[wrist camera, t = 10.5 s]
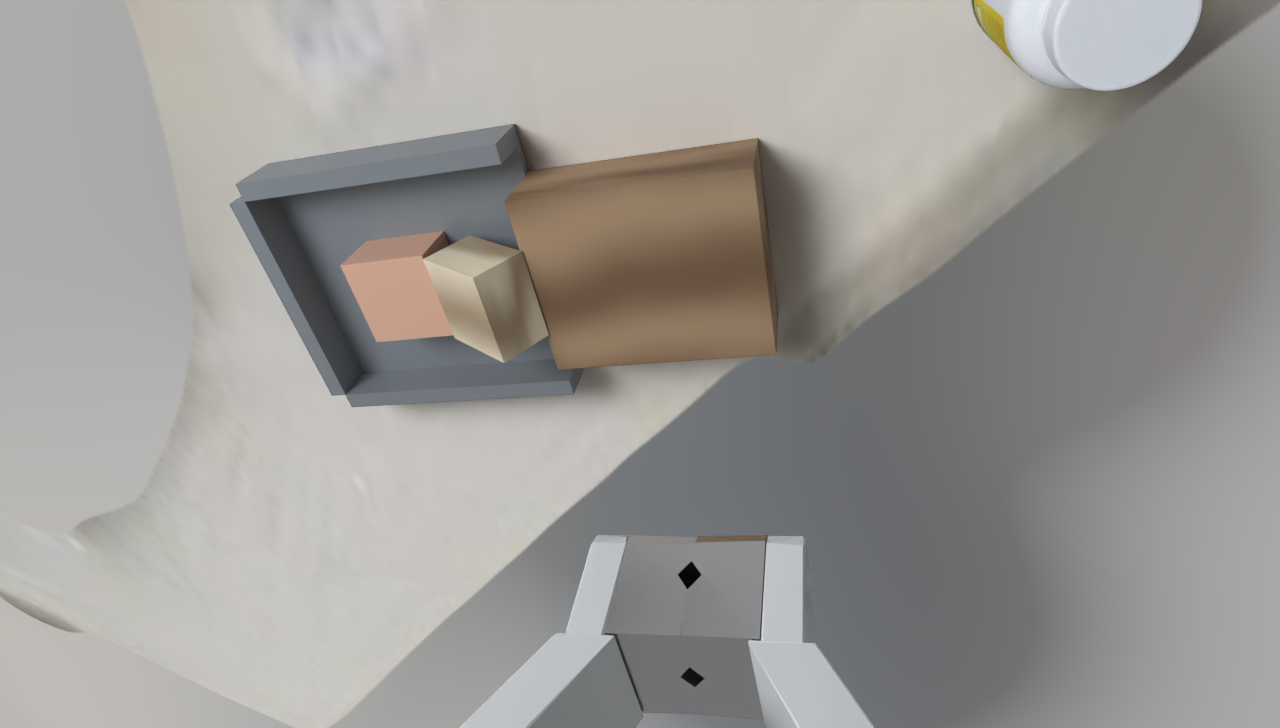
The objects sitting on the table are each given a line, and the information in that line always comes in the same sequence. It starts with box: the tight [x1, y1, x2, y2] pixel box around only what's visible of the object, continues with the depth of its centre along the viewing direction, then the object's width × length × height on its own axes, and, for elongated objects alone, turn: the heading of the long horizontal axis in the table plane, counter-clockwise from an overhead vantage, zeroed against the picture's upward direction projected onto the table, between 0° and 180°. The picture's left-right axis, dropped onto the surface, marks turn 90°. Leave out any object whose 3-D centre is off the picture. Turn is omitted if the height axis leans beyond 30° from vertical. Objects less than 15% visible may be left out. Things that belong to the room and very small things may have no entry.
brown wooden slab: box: [504, 138, 778, 370], centre depth 39 cm, size 10×12×4 cm
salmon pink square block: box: [340, 231, 453, 342], centre depth 42 cm, size 5×5×3 cm
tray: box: [230, 124, 584, 407], centre depth 43 cm, size 15×16×3 cm
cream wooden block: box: [423, 235, 549, 363], centre depth 40 cm, size 5×5×3 cm
